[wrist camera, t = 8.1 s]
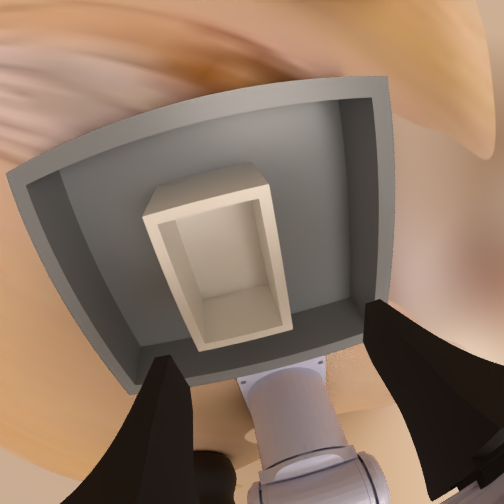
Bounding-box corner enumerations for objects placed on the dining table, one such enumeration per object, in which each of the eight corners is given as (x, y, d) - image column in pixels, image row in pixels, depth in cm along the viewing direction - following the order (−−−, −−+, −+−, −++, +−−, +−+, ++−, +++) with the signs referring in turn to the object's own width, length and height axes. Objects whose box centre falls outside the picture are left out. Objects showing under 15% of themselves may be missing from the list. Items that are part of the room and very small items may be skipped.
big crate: (357, 297, 22) (382, 335, 19) (136, 349, 22) (129, 394, 18) (344, 78, 14) (387, 76, 11) (46, 153, 14) (5, 173, 10)
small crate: (275, 282, 19) (293, 329, 16) (197, 301, 19) (198, 351, 15) (251, 161, 15) (269, 184, 12) (157, 185, 15) (142, 216, 11)
